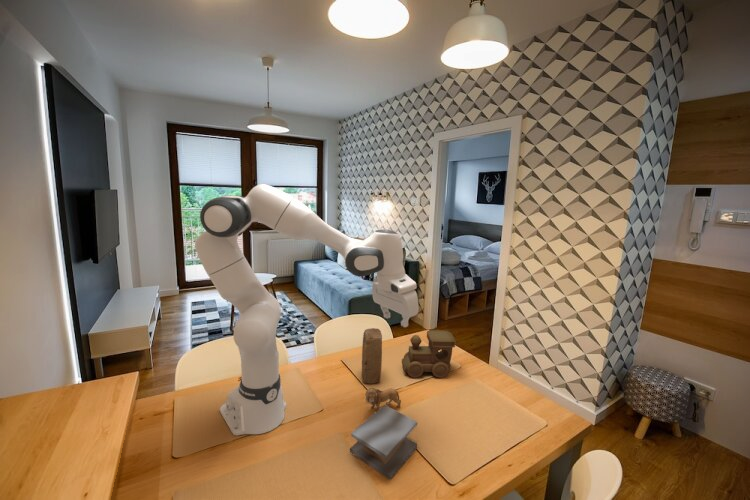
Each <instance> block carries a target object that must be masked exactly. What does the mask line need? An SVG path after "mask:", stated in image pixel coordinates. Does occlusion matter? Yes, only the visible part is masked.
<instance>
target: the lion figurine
mask: <svg viewBox="0 0 750 500" xmlns="http://www.w3.org/2000/svg"><path fill="white" fill-rule="evenodd" d="M399 394H400V393H399V391H398V390H396V389H395V388H391V387H390V388H387V389H384V390H380V389H378V388H375V387H371V388H368V389H367V390H365V394H364V396H365V401H366V403H367V404H370V405H371V407H370V410H375V409H376V410H375V412H376V411H378V410H379V409H380V405H381V404H382V403H383V402H386V404H385V405H386V406H388V405H390V404H391V403H392V402H394V403H395V404H396V405H395V406H396V408H397V409H400V408H401V403H402V400H401V399H400V395H399ZM375 407H376V408H375ZM375 412H374V413H375Z"/></svg>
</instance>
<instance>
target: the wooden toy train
mask: <svg viewBox="0 0 750 500" xmlns="http://www.w3.org/2000/svg"><path fill="white" fill-rule="evenodd" d="M426 338H427V340H428V345H421V344H422V341H423V340H422V338H421V337H420V335H417V334H414V335H412V337H411V338H410V343H411V345H409V346H408V351H407V352H406V353H405V354H404V355H403V358H401V365H402V368H403V372H406V373H407V375H408V376H409V377H411V378H413V379H417V378H420V377H421V376H422V375H423V373H424V372H431V373H432V375H433V376H434V377H435V378H439V379H441V378H445V377H446V376H447V375H448V373H450V372H451V366H452V365H451V360H452V355H453V348H456V339H455V337H454V336H453V334H452V332H450V331H449V330H437V329H436V330H435V329H433V330H431V329H429V330H426Z"/></svg>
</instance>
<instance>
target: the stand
mask: <svg viewBox="0 0 750 500" xmlns="http://www.w3.org/2000/svg"><path fill="white" fill-rule="evenodd" d="M375 411H376V410H375ZM416 427H418V421H416V420H414V419H413V418H411V417H409V416H408V415H407V416H406V415H405V414H403V413H401V412H399V411H398V410H395V409H394V408H391V407H389V406H388V405H387V404H384V405H383V406H381V407H379V410H378V411H376V412H374V413H372V414H371V415H370V416H369V417H368V418H367V419H366V420H365V421H363V422H362V423H361V424H360V425H359V426H358V427H356V428H355V429H354V430H353V431H351V432H350V437H351V438H353V439H354V440H355V441H356V442H355V443H354V444H353V445H351V447H349V453H350V452H351V453H352V454H351V453H350V454H351V455H353V454H354V455H355V456H356V458H357V459H359V460H360V461H361V462H363V463H364V464H366V465H367V466H369V467H370V468H371V469H374V470H375V471H376V472H377V473H379V474H380V475H382V476H383V477H385V478H386V479H387V480H390V481H391V480H392V478H393V477H394V476H395V475H396V474H397V473H398V471H399V470H400V469H401V468H402V467H403V465H404V464H405V463H406V462H407V461H408V459H409V458H410V457H411V456H412V455H413V454H414V452H415V451H416V450H417V449H418V443H417V442H415V441H414V440H413V439H410V438H409V437H408V435H410V433H411V432H412V431H413V430H414V429H415V428H416ZM354 455H353V456H354ZM355 456H354V457H355Z"/></svg>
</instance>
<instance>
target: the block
mask: <svg viewBox="0 0 750 500" xmlns="http://www.w3.org/2000/svg"><path fill="white" fill-rule="evenodd" d="M363 331H364V332H363V335H362V336H363V337H362V348H361V349H362V351H361V378H362V381H363V383H364V384H365V383H366V384H376V383H378V382H380V381H381V376H382V363H383V355H382V354H383V335H382V332H381V330H380V329H379V328H376V327H375V328H374V327H372V328H366V329H364V330H363Z"/></svg>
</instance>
